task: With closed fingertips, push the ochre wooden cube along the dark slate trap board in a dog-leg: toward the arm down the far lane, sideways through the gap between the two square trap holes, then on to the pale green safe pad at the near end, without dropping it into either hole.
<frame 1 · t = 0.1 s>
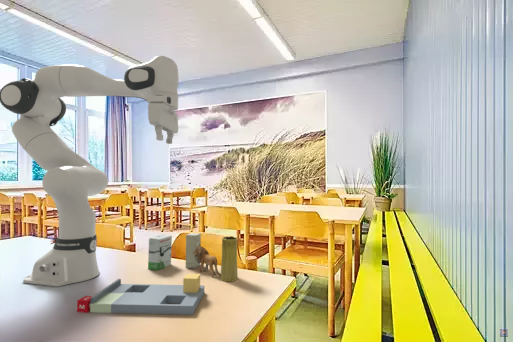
hand: (164, 142, 100), 48 cm above the table, fingers open, 8 cm apart
vase: (229, 279, 99), on the table
ink box: (159, 267, 112), on the table
trap board: (151, 301, 80), on the table
lion figurine: (206, 273, 105), on the table
block: (191, 289, 84), point 2 cm above the table, touching trap board
red letter cube: (86, 310, 75), on the table
box: (193, 266, 113), on the table
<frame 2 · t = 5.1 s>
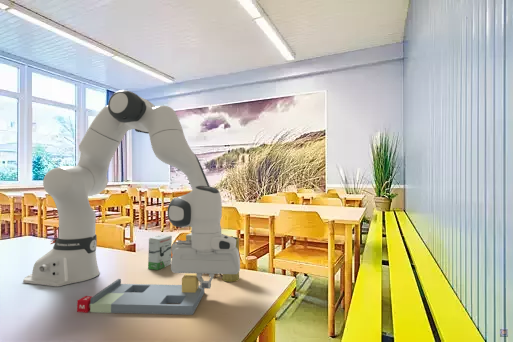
hand: (205, 287, 84), 3 cm above the table, fingers closed
block: (190, 289, 84), point 2 cm above the table, touching gripper
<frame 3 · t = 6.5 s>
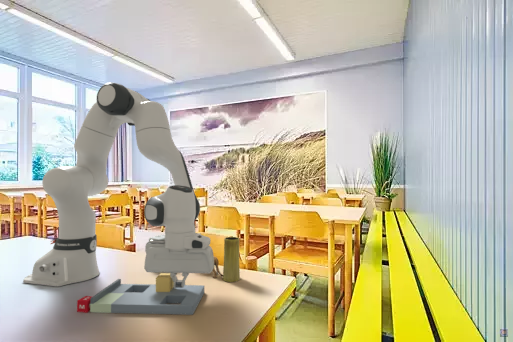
hand: (179, 287, 84), 3 cm above the table, fingers closed
block: (164, 289, 84), point 2 cm above the table, touching gripper, trap board
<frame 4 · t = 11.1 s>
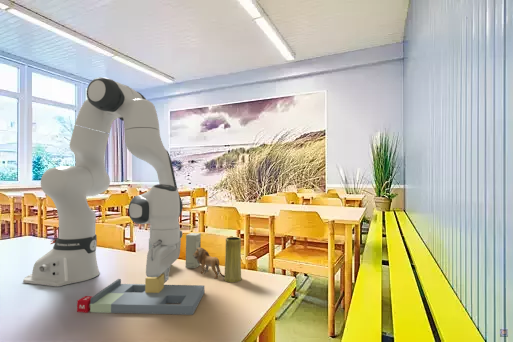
hand: (164, 281, 87), 3 cm above the table, fingers closed
vase: (232, 280, 98), on the table, touching lion figurine
lion figurine: (208, 274, 104), on the table, touching vase
block: (154, 289, 83), point 2 cm above the table, touching gripper, trap board
everything else where it was.
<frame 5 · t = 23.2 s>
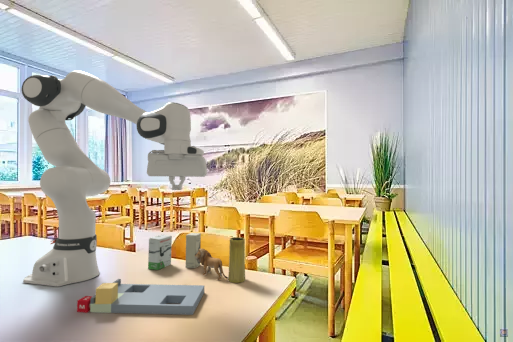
hand: (176, 189, 98), 31 cm above the table, fingers closed
vase: (236, 280, 98), on the table
lion figurine: (210, 276, 102), on the table
block: (106, 300, 76), point 2 cm above the table, touching trap board
everything else where it was.
at the end: block 1.4 cm from the target spot on the trap board, point 2.2 cm above the trap board's base; block touching trap board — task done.
